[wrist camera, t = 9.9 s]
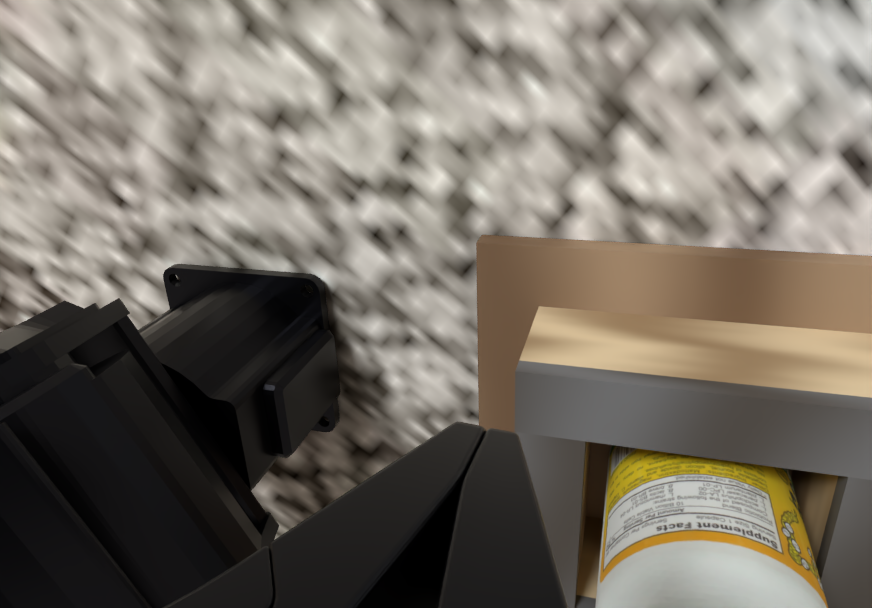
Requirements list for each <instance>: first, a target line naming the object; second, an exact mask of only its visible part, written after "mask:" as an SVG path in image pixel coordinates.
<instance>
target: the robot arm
mask: <svg viewBox="0 0 872 608" xmlns="http://www.w3.org/2000/svg"><path fill="white" fill-rule="evenodd" d="M176 275H177V276H178V277H179V278H180V280H181V282H180V281H179V280H178V279H177V278H176ZM163 278H164V283H165V288H166V292H167V297H168V301H169V306H170V310H168V311H167V312H165V313H164V314H162V315H161V316H159V317H158V318H156V319H154V320H153V321H151V322H150V323H148V324H147V325H145V326H144V327H142V328H141V329H139V330H137V329H136V327H135V326H134V324H133V323H132V321H131V320H130V319H129V317H128V316H127V315H128V314H129V313H130V312H129V311H128V310H127V308H126V307H125V305H124V304H123V302H122V301H121V300H120V298H118V299H117V300H115V301H113V302H111V303H110V304H108V305H106V306H104V307H103V308H101V309H99V307H98V306H97V304H96V303H94V304H92V305H90V306H88V307H87V308H85V309H84V308H81V307H79V306H76V305H74V304H71V303H69V302H66V301H63V302H61V303H59V304H58V305H56V306H54V307H52V308H50V309H48V310H46V311H44V312H42V313H40V314H38V315H36V316H34V317H32V318H30V319H28V320H27V321H24V322H22V323H20V324H18V325H16V326H14V327H12V328H9V329H7V330H5V331H2V332H0V608H568V605H567V601H566V598H565V594H564V591H563V587H562V584H561V580H560V577H559V573H558V570H557V566H556V563H555V559H554V556H553V552H552V549H551V545H550V542H549V538H548V535H547V531H546V528H545V524H544V521H543V517H542V514H541V511H540V507H539V504H538V500H537V497H536V493H535V490H534V486H533V483H532V479H531V476H530V472H529V469H528V465H527V462H526V458H525V455H524V451H523V448H522V444H521V441H520V438H519V436H518V434H517V433H515V432H510V431H505V430H500V429H494V428H490V429H488V430H487V431H486V429H485V428H484V427H483V426H479V425H474V424H468V423H463V422H455V423H453V424H452V425H450V426H449V427H447V428H445V429H444V430H442V431H441V432H439V433H438V434H436V435H435V436H433V437H432V438H430V439H429V440H427V441H426V442H424V443H422V444H421V445H419V446H418V447H416V448H415V449H413V450H412V451H410V452H409V453H407V454H406V455H404V456H402V457H401V458H399V459H398V460H396V461H395V462H393V463H392V464H390V465H389V466H387V467H386V468H384V469H383V470H381V471H379V472H378V473H376V474H375V475H373V476H372V477H370V478H369V479H367V480H366V481H364V482H363V483H361V484H360V485H358V486H356V487H355V488H353V489H352V490H350V491H349V492H347V493H346V494H344V495H343V496H341V497H340V498H338V499H336V500H335V501H333V502H332V503H330V504H329V505H327V506H326V507H324V508H323V509H321V510H320V511H318V512H317V513H315V514H313V515H312V516H310V517H309V518H307V519H306V520H304V521H303V522H301V523H300V524H298V525H297V526H295V527H293V528H292V529H290V530H289V531H287V532H286V533H284V534H283V535H281V536H280V537H278V538H277V539H275V540H274V538H275V536H276V533H277V530H278V527H279V525H278V523H277V522H276V521H275V519H274V518H273V516H272V515H271V513H270V512H265V511H264V509H263V508H262V506H261V505H260V503H259V502H258V501H257V499H256V498H255V496H254V495H253V493H252V492H251V491H252V489H253V488H254V487H255V486H256V484H257V483H258V482H259V481H260V479H261V478H262V477H263V476H264V474H265V473H266V472H267V471H268V470H269V468H270V467H271V466H272V465H273V463H274V462H275V461H276V460H277V458H278V457H283V458H288V457H289V456H290V455H291V454H292V453H294V451H295V450H296V449H297V448H298V446H299V445H300V444H301V443H302V441H303V440H304V439H305V437H306V436H307V435H308V434H309V432H310V431H311V430H314V431H321V432H330V431H332V430H333V429H334V428H335V426H336V425H337V424H338V422H339V409H338V400H337V397H338V395H339V394H340V384H339V375H338V366H337V357H336V349H335V340H334V336H333V334H332V333H331V331H329V322H328V314H327V305H326V297H325V288H324V285H323V282H322V281H321V280H320V278H318V277H317V276H315V275H312V274H304V273H291V272H278V271H265V270H252V269H239V268H226V267H213V266H200V265H187V264H175V265H173V266H171V267H169V268H168V269H166V270H165V272H164V274H163ZM305 285H309V286H310V287H311V288H312V289H313V293H310V292H308V291H307V290H306V287H305ZM322 416H325V417H327V418H328V419H329V421H327V420H325V419H324V418H323V417H322Z"/></svg>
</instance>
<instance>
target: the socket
mask: <svg viewBox="0 0 872 608" xmlns="http://www.w3.org/2000/svg"><path fill="white" fill-rule="evenodd" d="M476 246H477V316H478V387H479V426H483V427H484V428H485V429H486V431H487V430H488V429H490V428H494V429H500V430H505V431H510V432H515V433H517V434H518V436H519V438H520V441H521V444H522V448H523V451H524V455H525V458H526V462H527V465H528V469H529V472H530V476H531V479H532V483H533V486H534V490H535V493H536V497H537V500H538V504H539V507H540V511H541V514H542V517H543V521H544V524H545V528H546V531H547V535H548V538H549V542H550V545H551V549H552V552H553V556H554V559H555V563H556V566H557V570H558V573H559V577H560V580H561V584H562V587H563V591H564V594H565V598H566V601H567V605H568V608H595V606H596V594H597V583H598V573H599V562H600V551H601V540H602V529H603V517H604V505H605V493H606V482H607V470H608V458H609V451H610V447H611V445H616V446H623V447H631V448H638V449H645V450H653V451H660V452H667V453H675V454H682V455H690V456H697V457H704V458H712V459H719V460H727V461H734V462H741V463H749V464H756V465H763V466H771V467H778V468H786V469H789V473H790V476H791V479H792V482H793V487H794V490H795V494H796V498H797V501H798V504H799V507H800V512H801V515H802V517H803V521H804V525H805V528H806V532H807V535H808V539H809V543H810V546H811V549H812V553H813V556H814V560H815V563H816V566H817V569H818V573H819V577H820V580H821V584H822V587H823V591H824V594H825V597H826V601H827V605H828V608H872V256H860V255H841V254H823V253H805V252H787V251H768V250H750V249H732V248H714V247H695V246H677V245H659V244H641V243H622V242H604V241H586V240H568V239H549V238H531V237H513V236H495V235H482V236H481V237H480V239H479V240H478V241H477V243H476Z"/></svg>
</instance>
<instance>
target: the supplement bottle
mask: <svg viewBox="0 0 872 608" xmlns="http://www.w3.org/2000/svg"><path fill="white" fill-rule="evenodd" d="M595 608H828V605H827V601H826V597H825V594H824V591H823V587H822V584H821V580H820V577H819V573H818V569H817V566H816V563H815V560H814V556H813V553H812V549H811V546H810V543H809V539H808V535H807V532H806V528H805V525H804V521H803V517H802V515H801V512H800V507H799V504H798V501H797V498H796V494H795V490H794V487H793V482H792V479H791V476H790V473H789V469H786V468H778V467H771V466H763V465H756V464H749V463H741V462H734V461H727V460H719V459H712V458H704V457H697V456H690V455H682V454H675V453H667V452H660V451H653V450H645V449H638V448H631V447H623V446H616V445H611V447H610V451H609V458H608V470H607V482H606V493H605V505H604V517H603V529H602V540H601V551H600V562H599V573H598V583H597V594H596V606H595Z"/></svg>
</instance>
